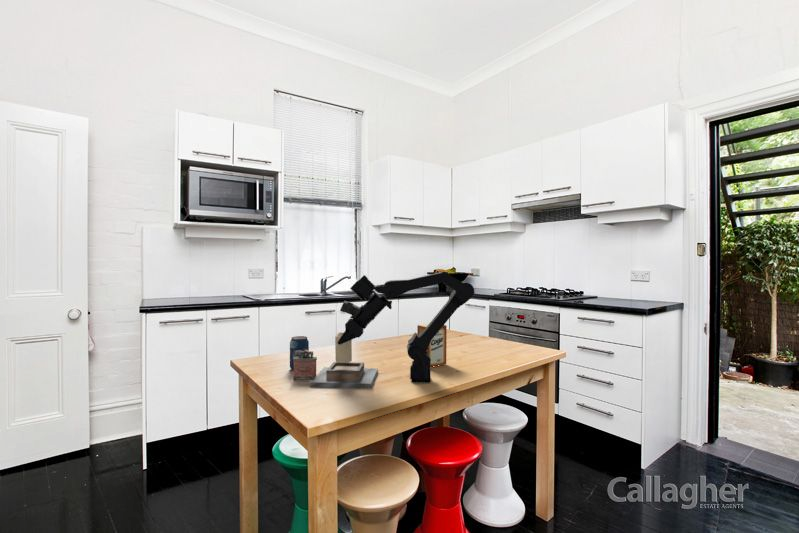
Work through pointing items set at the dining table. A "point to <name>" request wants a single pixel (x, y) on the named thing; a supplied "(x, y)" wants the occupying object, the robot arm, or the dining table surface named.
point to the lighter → (304, 365)
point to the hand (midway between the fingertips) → (339, 341)
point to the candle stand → (345, 376)
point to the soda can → (297, 347)
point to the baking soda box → (436, 346)
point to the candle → (343, 350)
